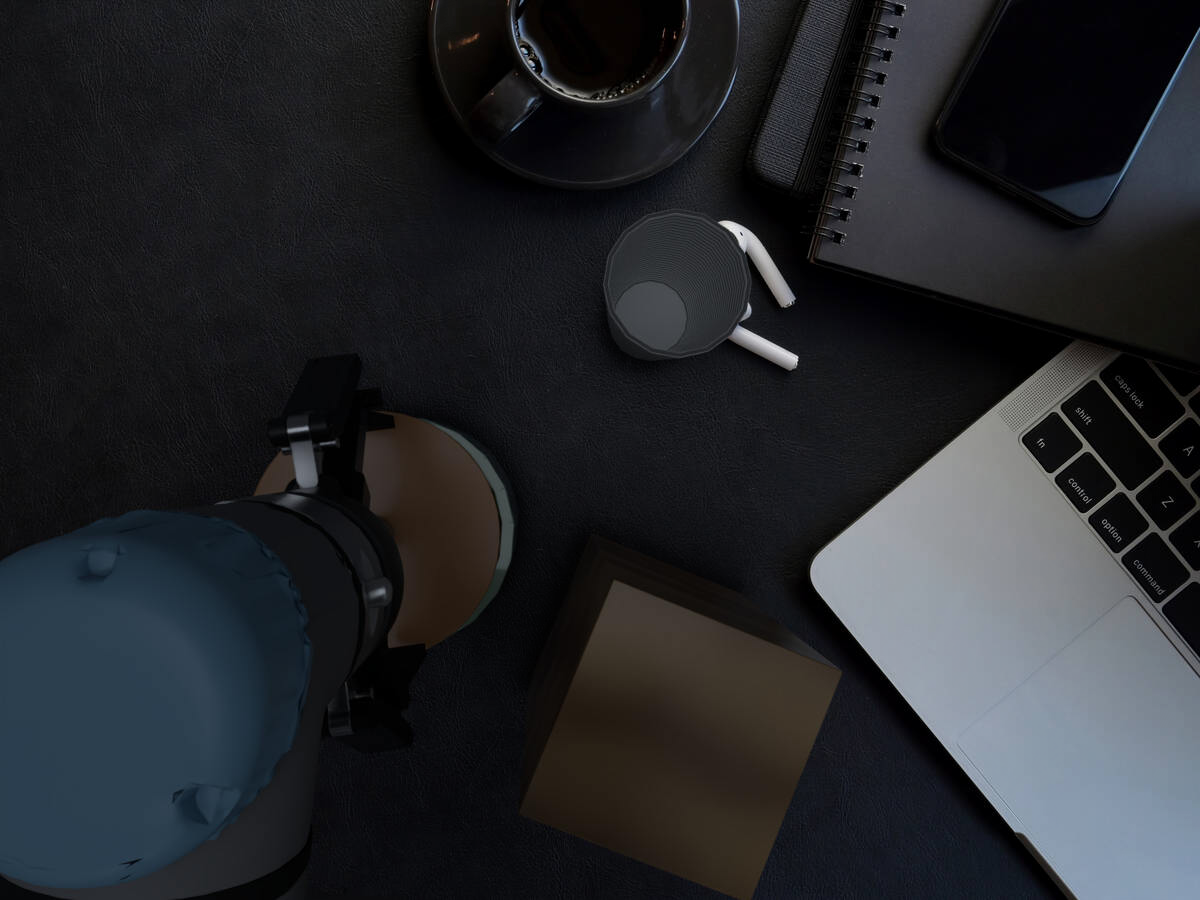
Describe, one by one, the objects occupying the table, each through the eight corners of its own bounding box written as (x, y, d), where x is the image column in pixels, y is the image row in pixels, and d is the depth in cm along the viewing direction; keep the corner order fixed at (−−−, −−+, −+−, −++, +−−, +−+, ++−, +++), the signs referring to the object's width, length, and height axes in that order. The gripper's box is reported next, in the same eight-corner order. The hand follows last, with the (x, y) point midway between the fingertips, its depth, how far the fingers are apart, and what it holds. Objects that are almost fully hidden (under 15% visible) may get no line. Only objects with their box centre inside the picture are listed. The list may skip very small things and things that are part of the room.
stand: (679, 744, 69) (749, 904, 45) (528, 684, 68) (517, 814, 44) (741, 593, 69) (843, 671, 45) (591, 532, 68) (613, 578, 44)
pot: (472, 652, 68) (460, 683, 59) (283, 577, 67) (242, 597, 58) (548, 466, 68) (548, 469, 59) (361, 389, 67) (332, 381, 58)
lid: (431, 701, 59) (413, 739, 51) (205, 591, 58) (153, 613, 50) (543, 480, 59) (542, 485, 51) (319, 368, 58) (285, 356, 51)
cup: (619, 396, 68) (640, 381, 53) (572, 290, 68) (579, 244, 53) (724, 349, 69) (775, 321, 53) (677, 243, 69) (715, 184, 53)
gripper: (435, 916, 34) (478, 737, 55) (342, 242, 34) (422, 321, 55) (228, 950, 34) (352, 756, 55) (133, 267, 34) (294, 337, 55)
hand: (387, 538), depth 55 cm, fingers open, 13 cm apart
